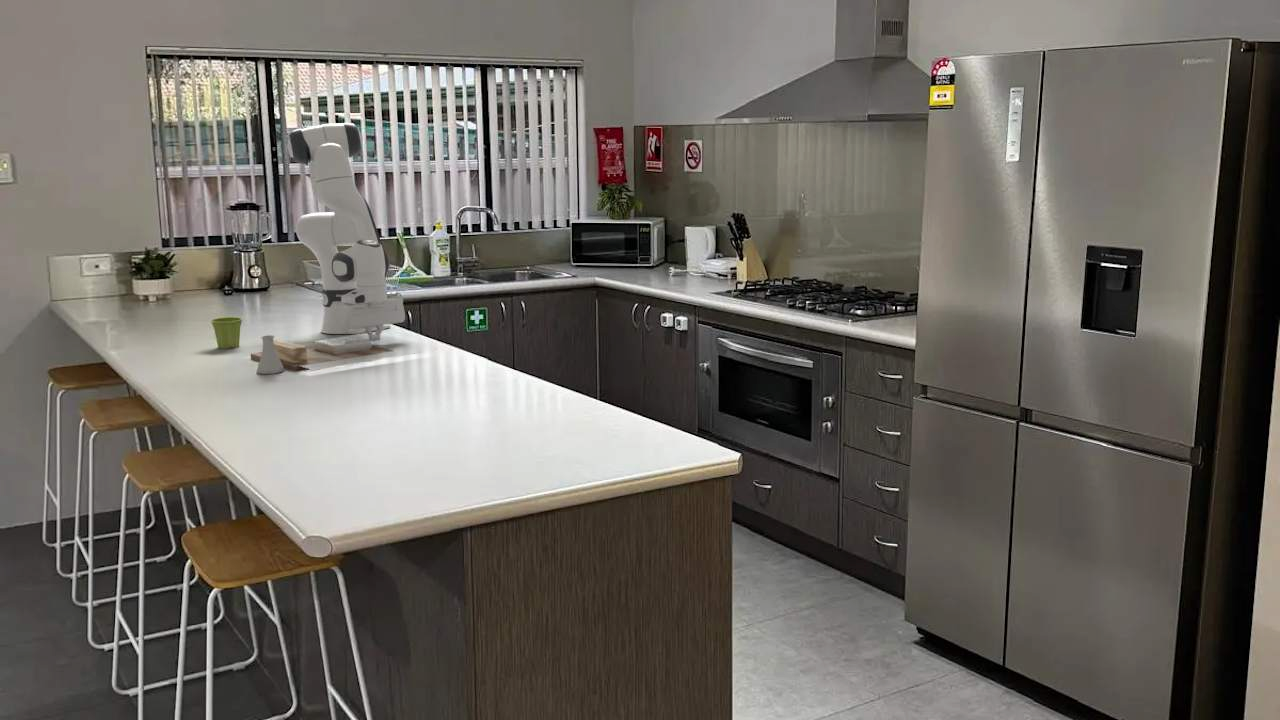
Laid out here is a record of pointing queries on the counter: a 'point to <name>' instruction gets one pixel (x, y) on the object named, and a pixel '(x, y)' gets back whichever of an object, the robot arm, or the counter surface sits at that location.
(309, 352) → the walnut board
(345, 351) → the aluminium plate
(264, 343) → the flask
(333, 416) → the counter surface
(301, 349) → the bar
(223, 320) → the plant pot
